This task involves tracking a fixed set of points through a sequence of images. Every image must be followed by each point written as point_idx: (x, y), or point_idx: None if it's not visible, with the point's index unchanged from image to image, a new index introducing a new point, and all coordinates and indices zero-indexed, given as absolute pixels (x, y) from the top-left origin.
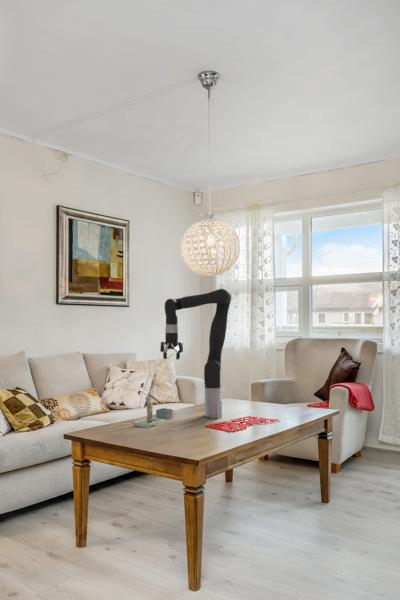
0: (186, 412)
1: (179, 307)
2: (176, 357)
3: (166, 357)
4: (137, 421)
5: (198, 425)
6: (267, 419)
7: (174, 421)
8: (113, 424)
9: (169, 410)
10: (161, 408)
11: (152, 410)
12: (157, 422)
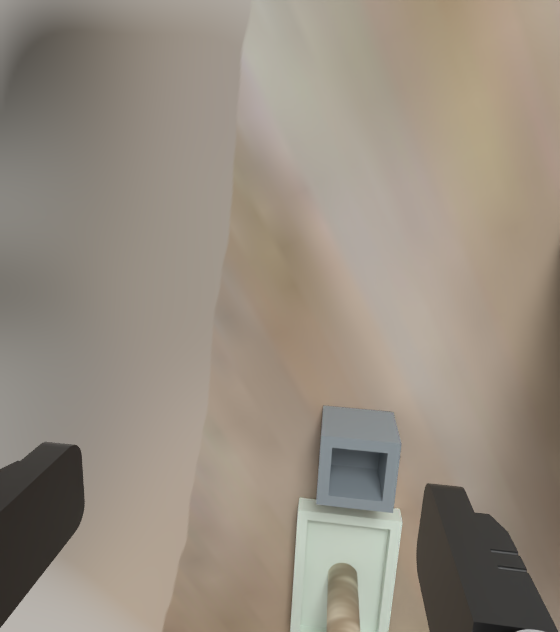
0: (362, 118)
1: None
2: (430, 606)
3: (59, 477)
4: (296, 619)
5: None
6: None
7: (429, 453)
8: (184, 618)
9: (396, 474)
10: (322, 450)
11: (359, 628)
12: (392, 587)
